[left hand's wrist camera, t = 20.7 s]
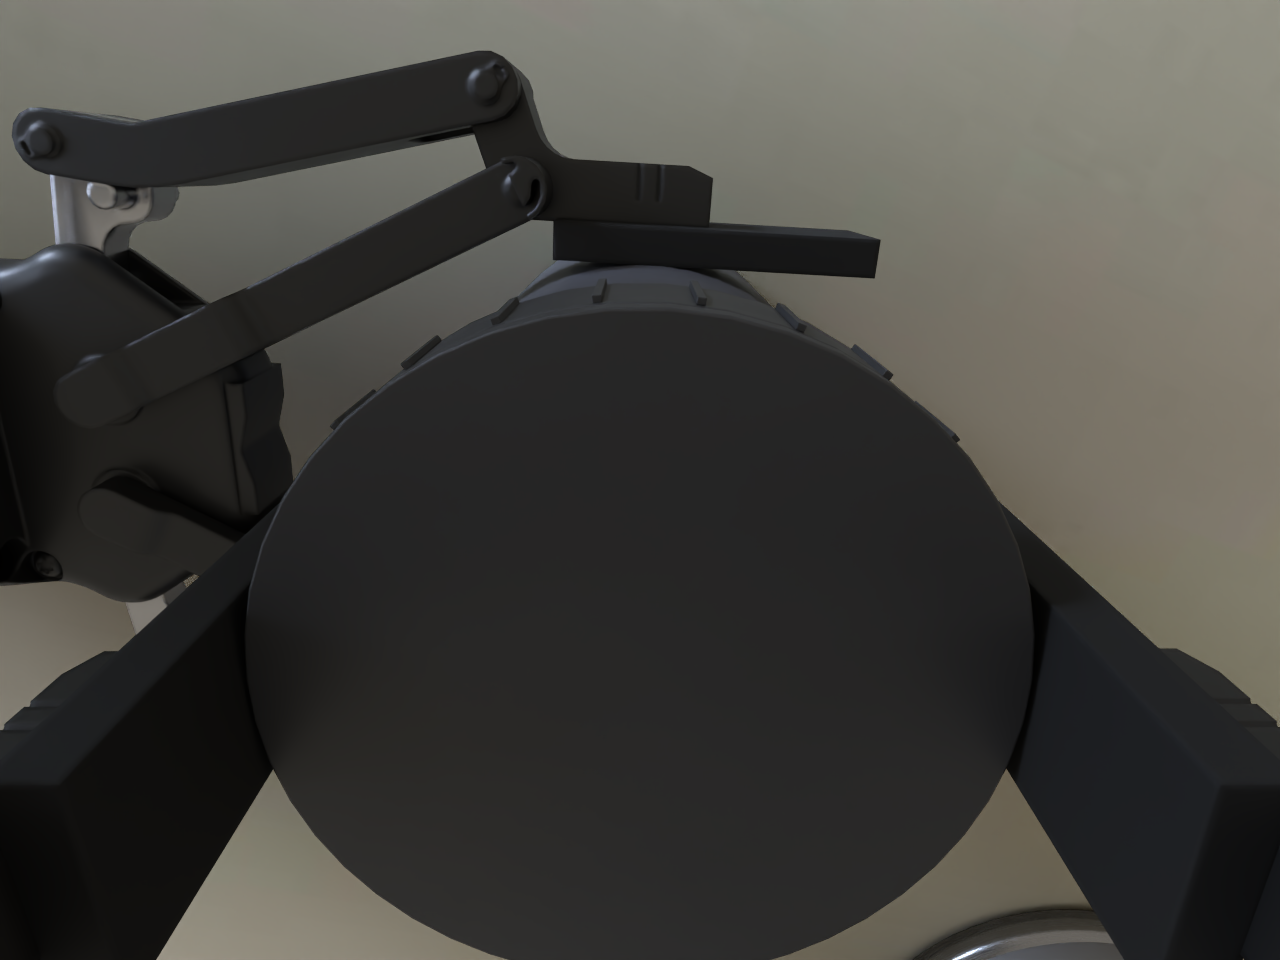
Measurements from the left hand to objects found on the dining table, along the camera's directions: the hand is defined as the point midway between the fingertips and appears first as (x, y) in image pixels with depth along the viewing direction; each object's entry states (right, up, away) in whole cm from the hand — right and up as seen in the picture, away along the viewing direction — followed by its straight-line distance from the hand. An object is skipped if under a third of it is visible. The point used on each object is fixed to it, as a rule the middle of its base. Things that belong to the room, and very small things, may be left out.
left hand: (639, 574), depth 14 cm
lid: (0, -1, -3) cm, 3 cm away
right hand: (+4, +2, +6) cm, 7 cm away
